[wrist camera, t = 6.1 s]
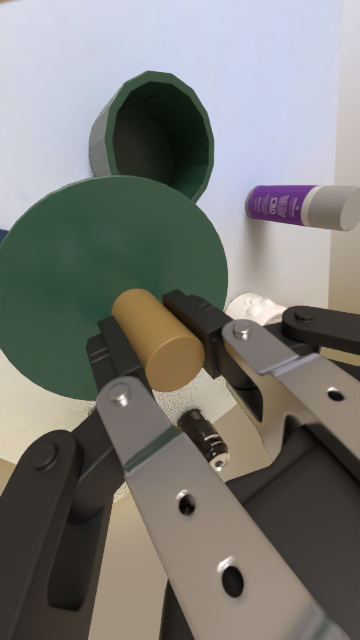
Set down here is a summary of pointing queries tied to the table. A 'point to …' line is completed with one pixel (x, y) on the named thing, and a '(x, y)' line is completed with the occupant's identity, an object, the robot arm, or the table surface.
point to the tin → (155, 135)
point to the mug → (255, 309)
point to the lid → (106, 281)
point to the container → (306, 205)
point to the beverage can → (205, 438)
